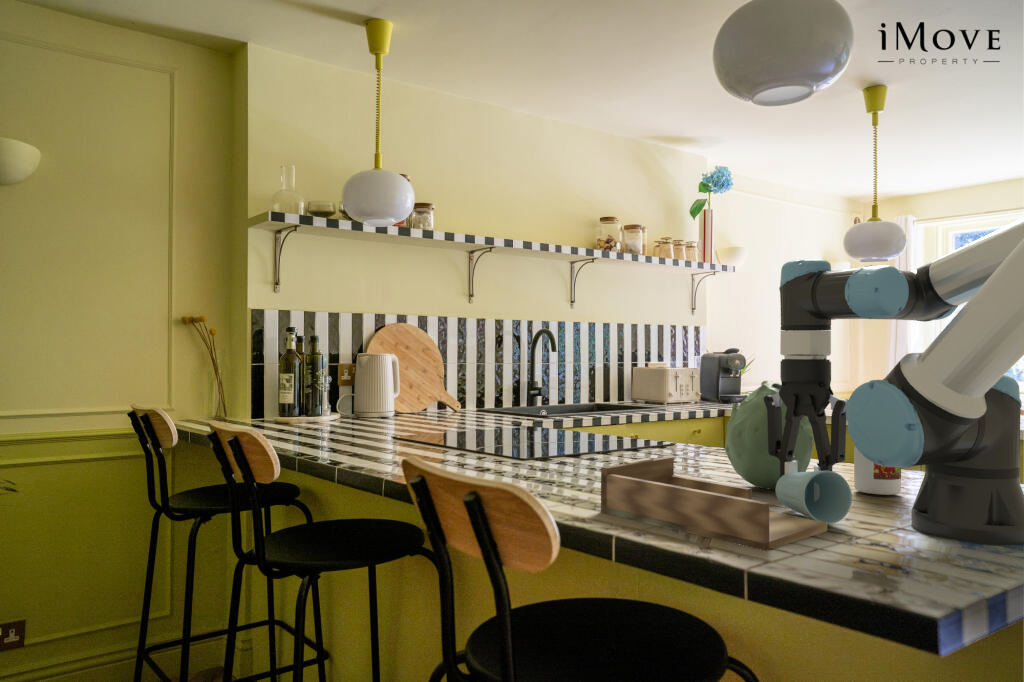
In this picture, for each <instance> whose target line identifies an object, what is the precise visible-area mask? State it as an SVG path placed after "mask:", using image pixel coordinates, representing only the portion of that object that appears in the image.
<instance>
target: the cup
mask: <svg viewBox="0 0 1024 682" xmlns="http://www.w3.org/2000/svg"><path fill="white" fill-rule="evenodd" d="M814 482H816V483H817V484H818V485H819V498H818V499H817V500H816V501H815V502H814ZM775 495H776V498H777V500H778V501H779V503H780V504H782V506H785V507H787V508H788V509H790V510H792V511H794V512H797V513H799V514H801V515H803V516H805V517H807V518H808V519H812V520H817V521H823V522H827V525H832V524H837V523H839V522H840V521H842V520H843V519H844V518H845V517H846V516H847V515H848V513H849V512H850V509H851V507H852V503H853V494H852V490H851V486H850V484H849V482H847V480H846V479H845V478H844V477H843V476H842V475H841V474H840V473H837V472H835V471H834V470H832V471H814V470H813V471H806V472H797V473H788V474H785V475H783V476H782V477H781V478H780V479H779V480H778V482H777V484H776V488H775Z"/></svg>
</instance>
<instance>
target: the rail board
mask: <svg viewBox="0 0 1024 682" xmlns="http://www.w3.org/2000/svg"><path fill="white" fill-rule="evenodd" d="M674 465H675V464H674V457H673V456H664V457H657V458H650V457H646V458H641V459H639V458H638V459H634V460H627V461H624V462H623V463H619V464H614V465H606V466H601V467H600V513H603V514H607V515H611V516H615V517H618V518H619V517H620V518H625V519H628V520H633V521H636V522H641V523H645V524H649V525H654V526H658V527H663V528H666V529H671V530H674V531H680V532H684V533H687V534H692V535H697V536H701V537H706V538H709V539H713V538H714V540H717V539H718V540H717V541H721V540H722V542H726V541H727V542H726V543H730V542H731V543H730V544H734V543H736V544H735V545H739V544H740V546H743V545H744V547H747V546H748V547H747V548H751V547H752V548H751V549H757V550H760V549H761V550H760V551H764V550H765V551H767V549H768V550H771V549H774V548H777V546H778V547H780V545H781V546H784V545H787V544H790V542H791V543H794V542H796V541H800V540H802V539H806V538H810V537H813V536H816V535H820V534H823V533H826V532H828V524H827V522H823V521H817V520H813V519H811V518H808V517H807V518H805V517H803V516H802V517H801V516H797V515H791V514H787V513H786V514H785V513H780V512H775V511H772V510H770V505H771V504H770V502H766V501H761V500H756V499H753V494H752V493H753V492H752V491H753V488H751V487H746V486H738V485H734V484H728V483H721V482H715V481H710V480H705V479H700V478H692V477H686V476H682V475H677V474H676V475H675V474H674V469H675V468H674ZM786 543H787V544H786ZM773 547H774V548H773ZM770 548H771V549H770Z"/></svg>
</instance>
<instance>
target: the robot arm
mask: <svg viewBox="0 0 1024 682" xmlns="http://www.w3.org/2000/svg"><path fill="white" fill-rule="evenodd" d="M780 270H781V272H780V284H779V288H778V289H779V297H780V298H779V300H780V301H779V302H780V349H779V351H780V355H781V356H783V357H784V358H782V359H781V361H779V362H780V365H779V366H780V372H779V375H780V382H781V384H782V385H781V388H780V390H779V393H777V394H774V395H769V396H765V397H764V402H765V405H766V408H767V419H768V453H769V455H771V456H775V457H777V458H778V459H779V460H780V478H781V477H782V476H783V475H785V474H788V473H797V472H798V461H794V460H793V461H791V459H794V458H795V457H794V456H793V454H794V449H795V445H796V440H797V435H798V430H799V425H800V421H801V420H802V418H803V415H804V416H807V417H808V420H809V422H810V423H811V426H812V431H813V436H814V445H815V449H816V455H817V460H818V462H817V463H816V465H814V466H813V471H833V466H834V465H836V464H839V463H843V462H845V460H846V446H847V445H846V444H847V443H846V442H847V436H846V435H847V431H848V434H849V437H850V440H851V441H852V443H853V445H855V446H856V448H857V449H858V450H859V452H860V453H861V454H862V455H863V456H864V457H866V458H867V459H868V460H870V461H871V462H873V463H875V464H878V465H881V466H885V467H898V468H901V469H906V468H912V467H918V466H919V467H920V466H924V476H923V478H922V481H921V484H920V488H919V489H918V492H917V495H916V497H915V500H914V503H913V505H912V509H911V515H910V516H911V518H910V520H911V521H910V522H911V523H910V524H911V526H912V527H913V528H914V529H915V530H917V531H920V532H922V533H925V534H927V535H931V536H935V537H939V538H943V539H948V540H952V541H957V542H958V541H959V542H965V543H973V544H982V545H992V544H993V545H995V546H997V545H998V546H1017V545H1019V546H1020V545H1024V491H1023V488H1022V486H1021V481H1020V477H1021V476H1020V475H1021V474H1020V473H1021V472H1020V469H1021V464H1020V463H1021V461H1020V460H1021V456H1020V455H1021V408H1022V400H1021V397H1020V396H1021V395H1020V386H1019V383H1018V382H1017V380H1016V379H1015V378H1013V377H1011V376H1010V375H1009V376H1007V375H1006V374H1007V372H1009V371H1010V369H1011V368H1012V367H1014V365H1016V363H1017V362H1018V361H1020V360H1021V358H1023V356H1024V217H1022V218H1020V219H1018V220H1016V221H1013V222H1012V223H1010V224H1007V225H1006V226H1003V227H1001V228H999V229H997V230H995V231H993V232H991V233H988V234H986V235H984V236H982V237H980V238H978V239H976V240H974V241H971V242H970V243H967V244H965V245H963V246H961V247H959V248H957V249H955V250H953V251H951V252H949V253H947V254H945V255H941V256H940V257H938V258H936V259H934V260H933V261H931V262H927V263H926V264H924V265H922V266H919V267H918V268H915V269H913V270H900V269H898V268H896V267H895V266H892V265H888V264H887V265H872V264H871V265H865V266H860V267H856V268H855V267H854V268H849V269H847V268H846V269H845V268H844V269H838V270H832V266H831V263H830V261H828V260H826V259H801V260H800V259H797V260H791V261H787V262H785V263H784V264H783V265H782V267H781V269H780ZM962 304H965V305H964V306H963V307H962V308H961V309H960V310H959V311H958V313H957V314H956V315H955V316H954V317H953V318H952V319H951V320H950V322H949V323H948V324H947V325H946V327H945V328H943V329H942V331H941V332H940V333H939V334H938V335H937V336H936V338H935V339H934V340H933V341H932V342H931V343H930V344H929V346H927V348H926V349H925V350H924V351H923V352H911V353H907V354H905V355H904V356H903V357H901V359H899V361H898V362H897V363H896V365H894V367H893V368H892V369H891V371H889V373H888V374H887V375H886V376H885V377H884V378H883V379H871V380H869V381H868V382H867V381H866V382H864V383H862V384H860V385H859V386H857V387H856V388H855V389H854V391H852V393H851V395H850V397H849V398H848V399H847V398H846V399H843V398H840V397H838V396H836V395H834V394H835V393H834V392H833V389H832V387H831V382H832V361H831V360H830V359H828V357H829V356H830V355H832V336H831V335H832V320H834V321H835V320H897V321H900V320H901V321H917V322H922V323H923V322H931V321H941V320H944V319H946V318H948V317H950V316H951V315H952V314H953V313H954V312H955V310H956V309H957V308H958V307H959V306H960V305H962ZM782 401H783V402H784V404H785V405H786V407H787V410H786V415H785V419H786V423H785V428H784V432H783V437H782V411H781V405H782ZM829 404H830V409H831V411H832V412H831V417H830V419H831V420H830V423H831V424H830V437H829V431H828V428H827V422H826V421H827V414H826V411H825V410H826V408H827V407H828V406H829ZM818 498H819V485H818V484H817V483H816V482H814V502H815V501H816V500H817V499H818Z"/></svg>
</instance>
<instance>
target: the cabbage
mask: <svg viewBox="0 0 1024 682" xmlns="http://www.w3.org/2000/svg"><path fill="white" fill-rule="evenodd" d="M760 383H761V384H760V386H759V387H757V388H756V389H755V390H753V391H752V392H751V393H749V394H744V399H743V400H741V402H740V404H739V405H738V404H737V402H736V401H734V402H733V403H734V404H732V407H731V412H730V418H729V420H728V422H727V426H726V436H725V446H724V450H725V454H726V456H727V459H728V460H729V462H730V465H731V467H732V468H733V470H734V471H735V472H736V474H738V475H739V476H740V477H741V478H742V479H743V480H744V481H746V482H747V483H749V484H751V485H753V486H755V487H758V488H761V489H764V490H771V489H776V484H777V482H778V480H779V479H780V460H779V459H778V458H777V457H775V456H771V455H769V453H768V419H767V408H766V405H765V402H764V397H765V396H769V395H774V394H777V393H779V390H780V388H781V385H782V383H780V382H774V381H772V380H769V379H767V380H763V381H762V382H760ZM786 410H787V407H786V405H785V404H784V402H783V401H782V405H781V411H782V437H783V432H784V428H785V423H786V419H785V415H786ZM814 445H815V441H814V436H813V431H812V426H811V423H810V422H809V420H808V417H807V416H804V415H803V418H802V420H801V421H800V425H799V430H798V435H797V440H796V445H795V449H794V454H793V456H794V457H795V458H794V459H791V461H793V460H794V461H798V472H807V469H808V468H809V465H810V462H811V458H812V454H813V453H812V452H813V448H814Z"/></svg>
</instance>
